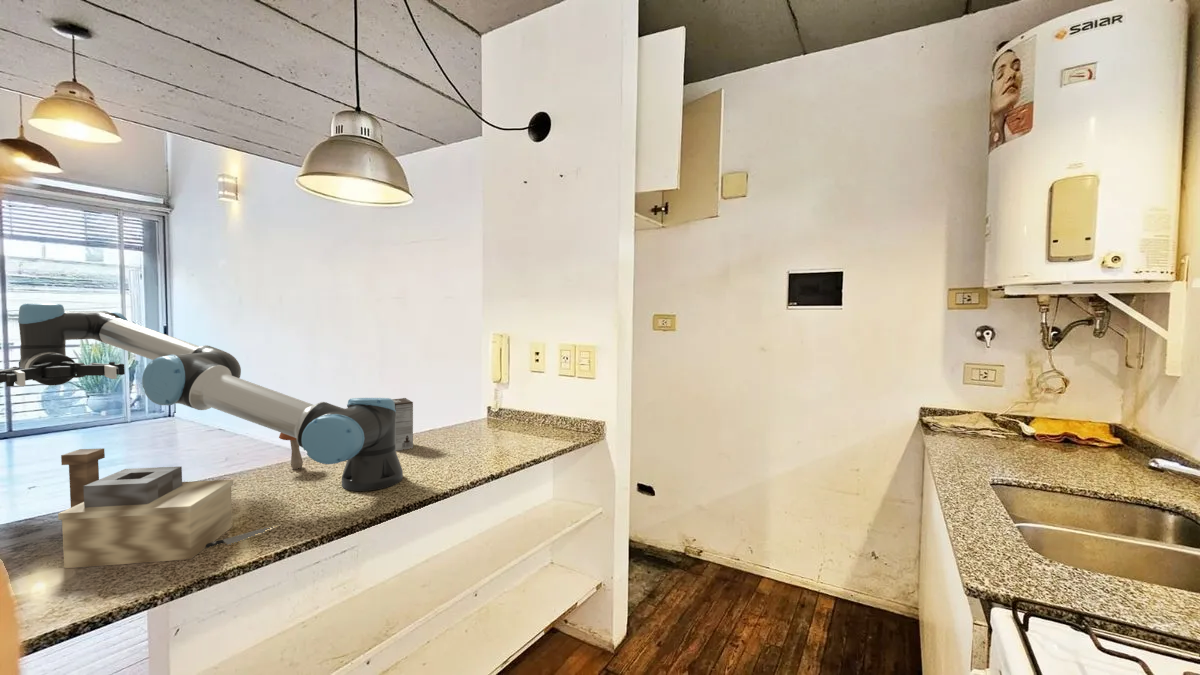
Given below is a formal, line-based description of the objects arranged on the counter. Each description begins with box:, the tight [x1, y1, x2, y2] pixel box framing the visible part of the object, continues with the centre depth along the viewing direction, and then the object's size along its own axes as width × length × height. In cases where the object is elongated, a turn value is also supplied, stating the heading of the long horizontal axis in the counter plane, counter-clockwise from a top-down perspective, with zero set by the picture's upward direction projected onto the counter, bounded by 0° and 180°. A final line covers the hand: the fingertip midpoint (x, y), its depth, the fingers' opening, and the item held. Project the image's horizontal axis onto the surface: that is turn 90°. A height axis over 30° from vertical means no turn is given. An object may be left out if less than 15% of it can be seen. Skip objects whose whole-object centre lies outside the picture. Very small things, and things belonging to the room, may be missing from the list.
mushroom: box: [278, 432, 304, 470], centre depth 144 cm, size 8×8×15 cm
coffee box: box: [391, 397, 414, 452], centre depth 168 cm, size 9×6×16 cm
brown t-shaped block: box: [60, 448, 106, 508], centre depth 102 cm, size 4×4×17 cm
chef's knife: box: [205, 527, 273, 549], centre depth 100 cm, size 19×1×3 cm
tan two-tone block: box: [57, 466, 234, 569], centre depth 96 cm, size 21×15×14 cm
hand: (70, 376), depth 106 cm, fingers open, 13 cm apart
